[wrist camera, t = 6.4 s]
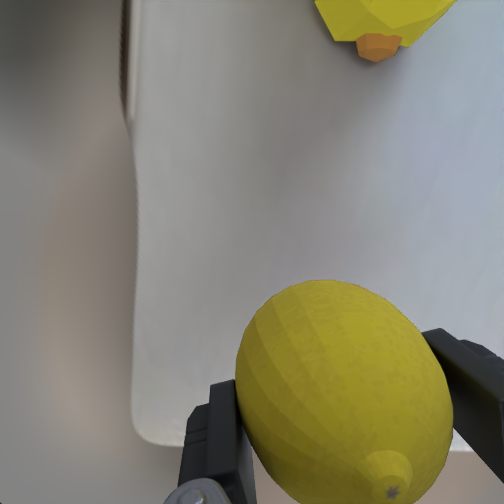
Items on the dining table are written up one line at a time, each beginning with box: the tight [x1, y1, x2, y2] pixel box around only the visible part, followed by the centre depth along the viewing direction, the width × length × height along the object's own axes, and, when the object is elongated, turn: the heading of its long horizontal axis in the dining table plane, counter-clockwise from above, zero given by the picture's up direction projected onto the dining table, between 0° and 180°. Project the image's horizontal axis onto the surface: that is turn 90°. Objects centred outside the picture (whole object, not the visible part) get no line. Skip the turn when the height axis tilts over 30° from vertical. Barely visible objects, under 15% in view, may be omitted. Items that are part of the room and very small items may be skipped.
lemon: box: [235, 280, 453, 504], centre depth 11 cm, size 6×6×8 cm
